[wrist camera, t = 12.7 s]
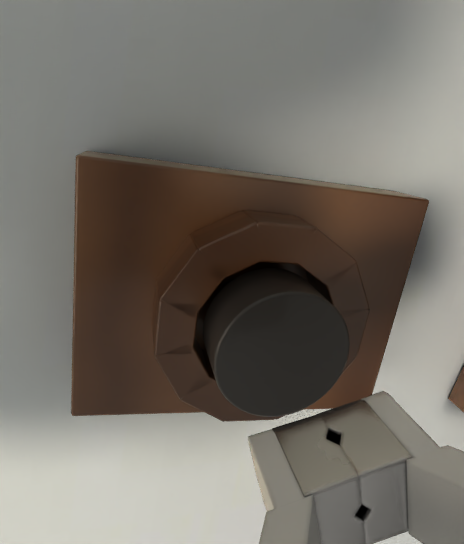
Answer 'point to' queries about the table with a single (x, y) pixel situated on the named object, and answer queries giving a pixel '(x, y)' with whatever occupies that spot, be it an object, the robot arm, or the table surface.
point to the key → (274, 342)
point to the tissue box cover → (458, 392)
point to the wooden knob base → (219, 274)
